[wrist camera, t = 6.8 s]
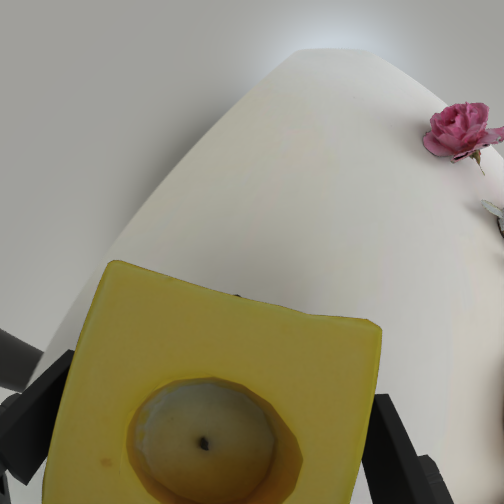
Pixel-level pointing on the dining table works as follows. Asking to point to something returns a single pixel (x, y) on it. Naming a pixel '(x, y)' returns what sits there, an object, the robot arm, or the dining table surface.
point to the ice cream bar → (502, 214)
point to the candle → (209, 399)
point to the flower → (461, 132)
